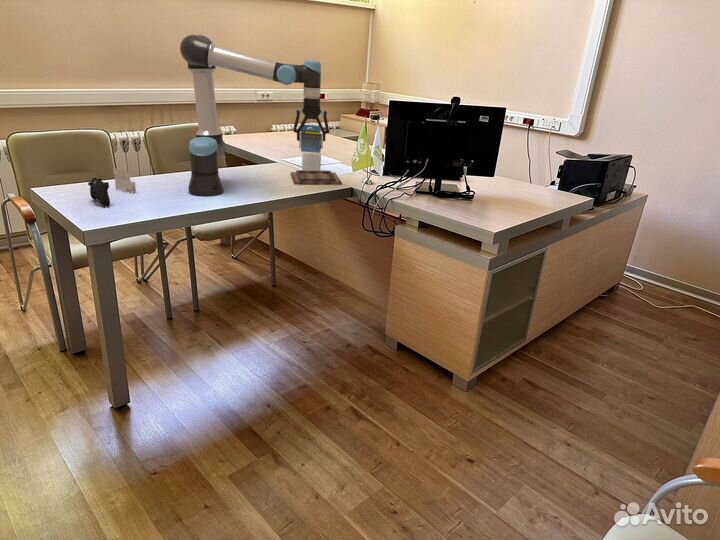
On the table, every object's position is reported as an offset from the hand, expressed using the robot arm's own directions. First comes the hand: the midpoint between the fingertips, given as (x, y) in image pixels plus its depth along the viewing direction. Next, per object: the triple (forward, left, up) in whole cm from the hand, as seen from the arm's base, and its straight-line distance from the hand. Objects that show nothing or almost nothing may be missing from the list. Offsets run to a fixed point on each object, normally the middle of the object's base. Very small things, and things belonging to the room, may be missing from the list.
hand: (310, 148), depth 236 cm
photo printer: (+5, +37, -20) cm, 43 cm away
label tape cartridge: (0, 0, -2) cm, 2 cm away
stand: (+5, +19, -20) cm, 28 cm away
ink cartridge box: (-82, -5, -20) cm, 84 cm away
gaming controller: (-88, -24, -20) cm, 93 cm away
